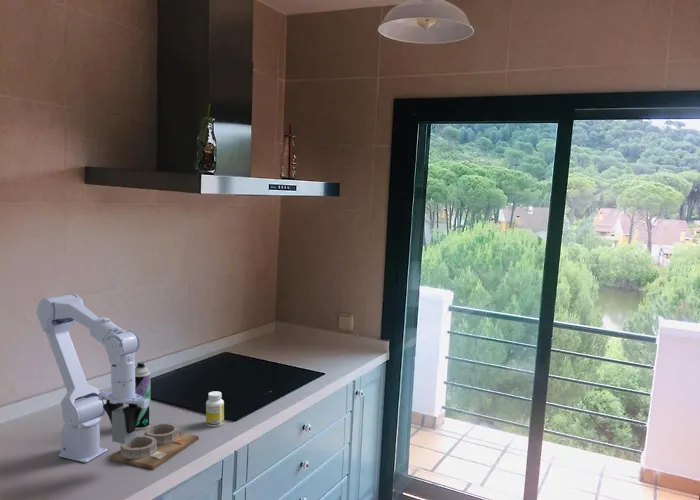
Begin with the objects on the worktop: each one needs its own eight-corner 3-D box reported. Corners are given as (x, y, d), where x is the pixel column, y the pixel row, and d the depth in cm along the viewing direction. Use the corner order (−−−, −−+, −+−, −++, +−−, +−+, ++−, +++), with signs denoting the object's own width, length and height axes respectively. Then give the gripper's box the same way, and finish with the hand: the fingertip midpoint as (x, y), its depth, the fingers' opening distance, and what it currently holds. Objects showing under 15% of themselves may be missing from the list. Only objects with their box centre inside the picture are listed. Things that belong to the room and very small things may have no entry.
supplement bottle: (216, 418, 185) (216, 389, 184) (227, 423, 182) (227, 393, 181) (202, 423, 181) (202, 393, 180) (213, 428, 178) (213, 397, 177)
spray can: (130, 424, 179) (130, 360, 177) (149, 421, 181) (149, 359, 179) (131, 431, 174) (131, 366, 172) (151, 428, 176) (151, 364, 174)
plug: (112, 441, 149) (111, 411, 148) (123, 435, 153) (122, 405, 152) (124, 444, 148) (124, 413, 147) (135, 437, 151) (135, 408, 151)
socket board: (110, 459, 156) (110, 446, 156) (158, 431, 175) (158, 419, 174) (153, 469, 151) (153, 456, 151) (198, 439, 170) (198, 427, 170)
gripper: (89, 379, 147) (90, 431, 149) (135, 388, 142) (135, 441, 144) (109, 371, 154) (110, 421, 155) (154, 379, 149) (154, 430, 150)
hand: (123, 430), depth 150 cm, fingers closed on plug, 4 cm apart
